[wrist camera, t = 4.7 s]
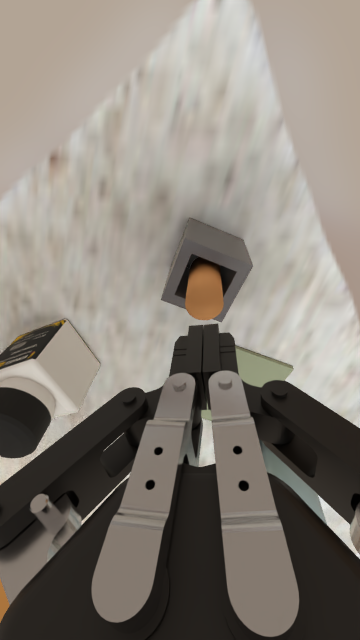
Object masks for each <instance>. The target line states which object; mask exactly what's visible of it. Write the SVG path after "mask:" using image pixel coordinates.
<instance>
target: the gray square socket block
mask: <svg viewBox="0 0 360 640" xmlns="http://www.w3.org/2000/svg"><path fill="white" fill-rule="evenodd" d="M191 254H194V255H196V256H199V257H201V258H204V259H206V260H209V261H211V262H214V263H216V264H219V265H221V266H220V272H221V282H222V292H223V302H224V305H223V309H222V311H221V313H220V314H219V315H218V316H216V317H215V318H213V319H214V320H217V321H219V322H222V321H223V319H224V317H225V315H226V313H227V312H228V310H229V308H230V306H231V304H232V303H233V301H234V299H235V297H236V296H237V294H238V292H239V290H240V288H241V287H242V285H243V283H244V281H245V279H246V278H247V276H248V274H249V272H250V271H251V269H252V267H253V264H252V261H251V259H250V256H249V253H248V251H247V248H246V245H245V243H244V240H242V239H240V238H238V237H235V236H233V235H230V234H228V233H225V232H223V231H221V230H218V229H216V228H213V227H211V226H209V225H206V224H204V223H201V222H199V221H197V220H194V219H192V218H189V221H188V223H187V226H186V229H185V231H184V234H183V237H182V239H181V242H180V244H179V247H178V250H177V252H176V255H175V257H174V260H173V263H172V265H171V268H170V271H169V274H168V278H167V281H166V284H165V288H164V291H163V294H162V298H161V300H163V301H165V302H168V303H171V304H173V305H176V306H179V307H182V308H184V309H186V307H185V300H186V292H187V285H188V278H189V271H190V268H187V267H186V266H187V263H188V261H189V258H190V256H191Z"/></svg>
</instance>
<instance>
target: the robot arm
mask: <svg viewBox="0 0 360 640" xmlns="http://www.w3.org/2000/svg"><path fill="white" fill-rule="evenodd" d="M207 404H208V410H211V415H212V429H213V440H214V450H215V460H216V464H212V465H208V466H204V467H199V455H200V446H201V437H202V428H203V423H202V417H201V413H202V410H207ZM123 433H124V434H123ZM122 434H123V435H122ZM120 435H121V436H120ZM119 436H120V437H119ZM118 437H119V438H118ZM117 438H118V439H117ZM116 439H117V440H116ZM115 440H116V441H115ZM259 440H262V442H263V443H264V445H265V446H266V447H267V448H268V449H269V450H270V451H271V452H273V453H274V454H275V455H276V456H277V457H278V458H279V459H280V460H281V461H282V462H283V463H284V464H286V465H287V466H288V467H289V468H290V469H291V470H292V471H293V472H294V473H295V474H296V475H297V476H298V477H300V478H301V479H302V480H303V481H304V482H305V483H306V484H307V485H308V486H309V487H310V488H311V489H313V490H314V491H315V492H316V493H317V494H318V495H319V496H320V497H321V498H322V499H323V500H324V501H325V502H327V503H328V504H329V505H330V506H331V507H332V508H333V509H334V510H335V511H336V512H337V513H338V514H339V515H341V516H342V517H343V518H344V519H345V520H346V521H347V522H348V523H349V524H350V536H351V540H352V543H353V545H354V547H355V548H356V550H357V551H358V553H359V554H360V428H358V427H357V426H355V425H354V424H352V423H351V422H349V421H348V420H346V419H345V418H343V417H341V416H340V415H338V414H337V413H335V412H334V411H332V410H331V409H329V408H328V407H326V406H324V405H323V404H321V403H320V402H318V401H317V400H315V399H314V398H312V397H311V396H309V395H307V394H306V393H304V392H303V391H301V390H300V389H298V388H297V387H295V386H294V385H292V384H290V383H288V382H286V381H282V380H272V381H269V382H267V383H265V384H264V385H263V386H262V387H257V386H253V385H250V384H248V383H246V382H244V381H243V380H242V379H241V378H240V376H239V373H238V365H237V357H236V349H235V341H234V338H233V336H232V335H231V334H230V333H219V327H218V324H209V325H204V326H203V325H197V326H189V332H188V336H180V337H179V338H178V340H177V341H176V342H175V346H174V352H173V358H172V363H171V369H170V375H169V378H167V380H166V381H165V383H164V385H163V386H162V387H160V388H159V389H157V390H154V391H151V392H147V393H145V392H144V391H143V390H142V389H140V388H135V387H132V388H127V389H125V390H123V391H121V392H120V393H118V394H117V395H116V396H115V397H113V398H112V399H111V400H109V401H108V402H107V403H106V404H104V405H103V406H102V407H100V408H99V409H98V410H97V411H95V412H94V413H93V414H91V415H90V416H89V417H88V418H86V419H85V420H84V421H82V422H81V423H80V424H78V425H77V426H76V427H75V428H73V429H72V430H71V431H69V432H68V433H67V434H66V435H64V436H63V437H62V438H60V439H59V440H58V441H57V442H55V443H54V444H53V445H51V446H50V447H49V448H48V449H46V450H45V451H44V452H42V453H41V454H40V455H39V456H37V457H36V458H35V459H33V460H32V461H31V462H30V463H28V464H27V465H26V466H24V467H23V468H22V469H21V470H19V471H18V472H17V473H15V474H14V475H13V476H12V477H10V478H9V479H8V480H6V481H5V482H4V483H2V484H1V485H0V579H1V582H2V584H3V587H4V590H5V593H6V596H7V599H8V601H9V604H10V606H9V608H8V610H7V611H6V613H5V615H4V617H3V619H2V621H1V623H0V640H360V559H359V558H358V557H357V556H356V555H355V554H354V553H353V552H352V551H351V550H350V549H349V547H348V546H347V545H346V544H345V543H344V542H343V541H342V540H341V539H340V538H339V537H338V536H337V535H336V534H335V533H334V532H333V531H332V530H331V529H330V528H329V527H328V526H327V524H326V523H325V522H324V521H323V520H322V519H321V518H320V517H319V516H318V515H317V514H316V513H315V512H314V511H313V510H312V509H311V508H310V507H309V506H308V505H307V504H306V503H305V501H304V500H303V499H302V498H301V497H300V496H299V495H298V494H297V493H296V492H295V491H294V490H293V489H292V488H291V487H290V486H289V485H288V484H286V483H285V482H284V481H282V480H281V479H279V478H278V477H276V476H274V475H273V474H271V473H268V472H267V471H266V467H265V463H264V459H263V455H262V451H261V447H260V443H259ZM114 441H115V442H114ZM112 442H114V443H112ZM111 443H112V444H111ZM110 444H111V445H110ZM109 445H110V446H109ZM108 446H109V447H108ZM107 447H108V448H107ZM106 448H107V449H106ZM105 449H106V450H105ZM104 450H105V451H104ZM130 472H131V473H130ZM129 473H130V477H129V478H128V479H126V480H125V481H124V482H123V483H121V484H120V485H119V486H118V487H117V488H116V489H115V490H114V491H113V493H112V494H111V495H110V496H109V497H108V498H107V499H106V500H105V501H104V502H103V503H102V504H101V505H100V506H99V507H98V509H97V510H96V511H95V512H94V513H93V514H92V515H91V516H90V517H89V518H88V519H87V520H86V521H85V522H84V524H83V525H82V526H81V522H82V520H83V519H84V518H85V517H86V516H87V515H88V514H89V513H90V512H91V511H92V510H93V509H94V508H95V507H96V506H97V505H98V504H99V503H100V502H101V501H102V500H103V499H104V498H105V497H106V496H107V495H108V494H109V493H110V492H111V491H112V490H113V489H114V488H115V487H116V486H117V485H118V484H119V483H120V482H121V481H122V480H123V479H124V478H125V477H126V476H127V475H128V474H129Z"/></svg>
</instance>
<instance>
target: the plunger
mask: <svg viewBox="0 0 360 640" xmlns="http://www.w3.org/2000/svg"><path fill="white" fill-rule="evenodd" d="M223 305H224V302H223V292H222V282H221V272H220V265H219V264H216V263H214V262H211V261H209V260H206V259H204V258H201V257H198V258H196V259H195V260H194V261H193V262H192V264H191V266H190V271H189V278H188V285H187V292H186V300H185V307H186V310H187V311H188V313H189V314H190V315H191V316H192V317H194V318H196V319H199V320H210V319H213V318H215V317H216V316H218V315H219V314H220V313H221V311H222V309H223Z"/></svg>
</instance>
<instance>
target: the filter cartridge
mask: <svg viewBox="0 0 360 640" xmlns="http://www.w3.org/2000/svg"><path fill="white" fill-rule="evenodd" d="M259 443H260V447H261V451H262V455H263V459H264V463H265V467H266V471H267V472H268V473H271V474H273V475H274V476H276V477H278V478H279V479H281V480H282V481H284V482H285V483H286V484H288V485H289V486H290V487H291V488H292V489H293V490H294V491H295V492H296V493H297V494H298V495H299V496H300V497H301V498H302V499H303V500H304V501H305V503H306V504H307V505H308V506H309V507H310V508H311V509H312V510H313V511H314V512H315V513H316V514H317V515H318V516H319V517H320V518H321V519H322V520H323V521H324V522H325V523H326V520H325V517H324V514H323V510H322V507H321V504H320V501H319V497H318V494H317V493H316V492H315V491H314V490H313V489H311V488H310V487H309V486H308V485H307V484H306V483H305V482H304V481H303V480H302V479H301V478H300V477H298V476H297V475H296V474H295V473H294V472H293V471H292V470H291V469H290V468H289V467H288V466H287V465H286V464H284V463H283V462H282V461H281V460H280V459H279V458H278V457H277V456H276V455H275V454H274V453H273V452H271V451H270V450H269V449H268V448H267V447H266V446H265V445H264V443H263V442H262V440H259ZM326 524H327V523H326Z"/></svg>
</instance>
